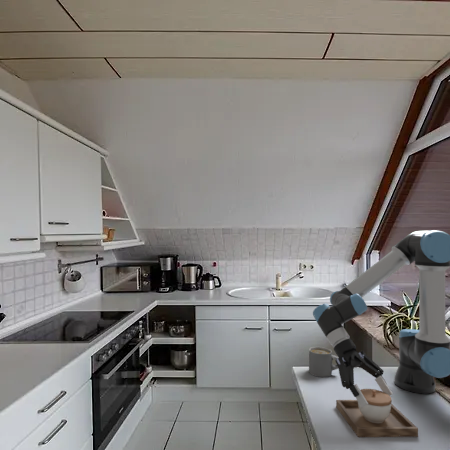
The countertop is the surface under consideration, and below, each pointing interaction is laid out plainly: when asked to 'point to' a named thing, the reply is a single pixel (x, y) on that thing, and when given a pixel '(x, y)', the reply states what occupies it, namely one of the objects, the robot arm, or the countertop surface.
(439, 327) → the robot arm
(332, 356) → the coffee mug
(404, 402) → the countertop surface
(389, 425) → the walnut square tray
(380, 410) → the lidded jar
